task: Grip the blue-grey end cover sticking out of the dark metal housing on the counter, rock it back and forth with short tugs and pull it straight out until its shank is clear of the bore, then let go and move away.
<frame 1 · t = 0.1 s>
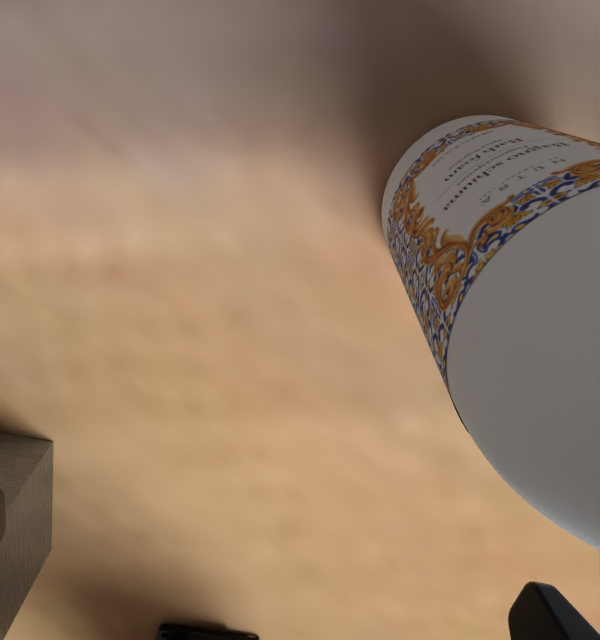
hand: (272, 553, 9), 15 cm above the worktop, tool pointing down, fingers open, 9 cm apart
bath foam: (465, 204, 21), on the worktop
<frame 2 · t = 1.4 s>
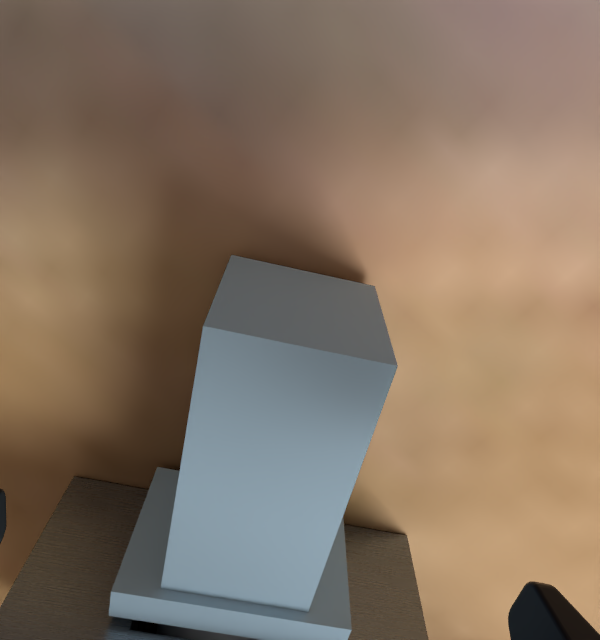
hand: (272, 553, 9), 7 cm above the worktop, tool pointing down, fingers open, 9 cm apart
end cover: (242, 542, 16), point 3 cm above the worktop, slide at 0.0 cm
housing: (226, 580, 20), on the worktop
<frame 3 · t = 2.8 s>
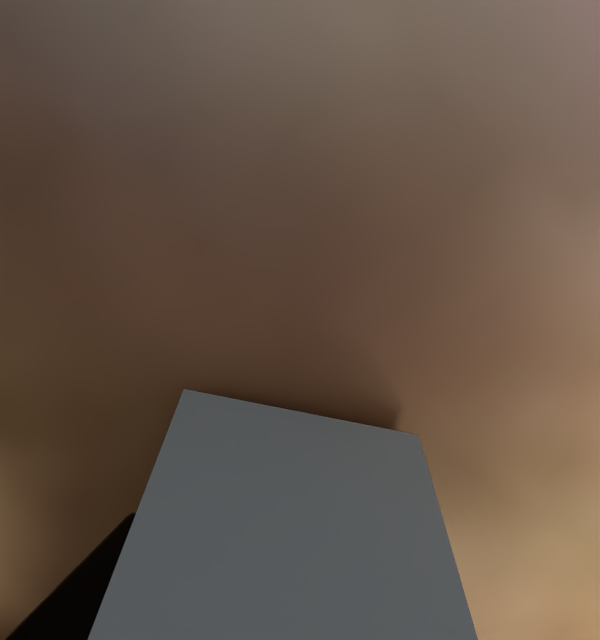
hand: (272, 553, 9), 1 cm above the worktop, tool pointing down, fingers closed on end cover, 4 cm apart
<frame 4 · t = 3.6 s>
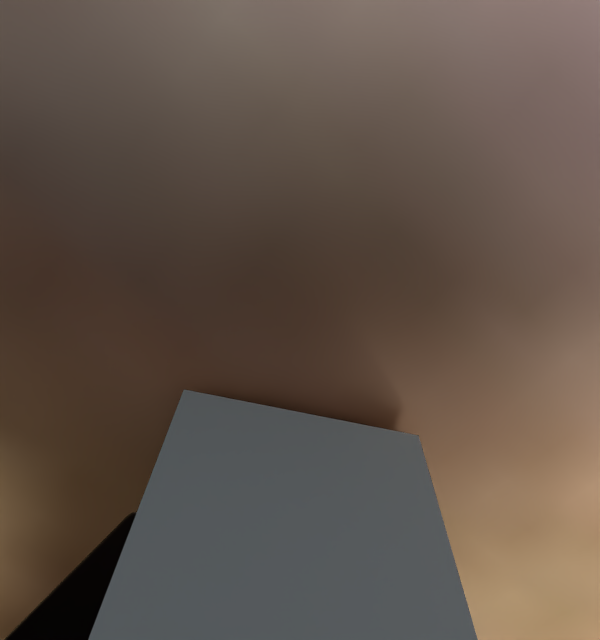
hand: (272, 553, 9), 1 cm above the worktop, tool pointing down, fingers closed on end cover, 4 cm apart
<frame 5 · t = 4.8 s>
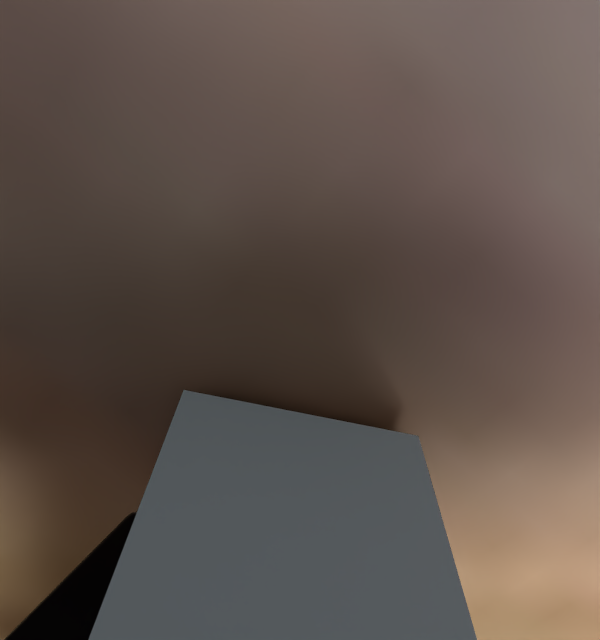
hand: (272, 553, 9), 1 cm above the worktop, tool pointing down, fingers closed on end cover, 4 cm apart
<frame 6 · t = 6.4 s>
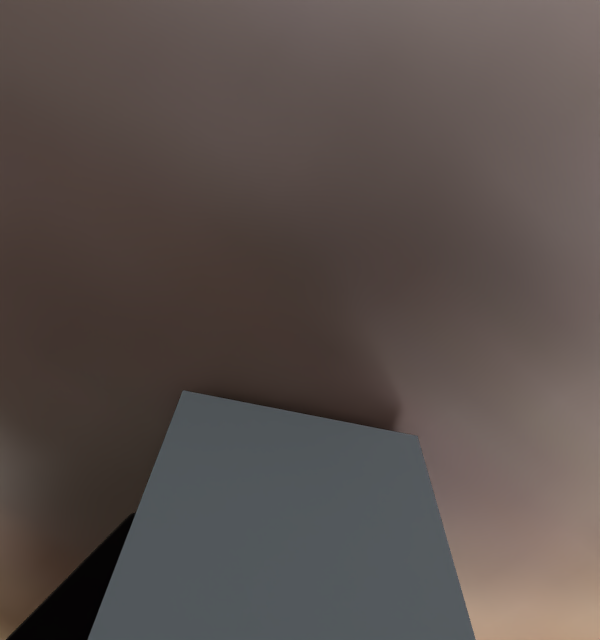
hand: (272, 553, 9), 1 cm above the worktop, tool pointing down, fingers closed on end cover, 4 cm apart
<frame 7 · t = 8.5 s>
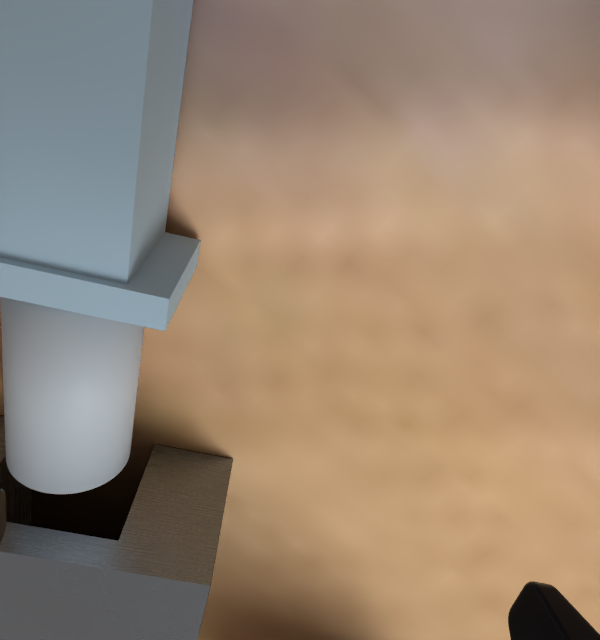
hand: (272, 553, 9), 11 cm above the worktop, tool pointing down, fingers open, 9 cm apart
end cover: (79, 246, 16), point 3 cm above the worktop, slide at 8.4 cm
housing: (89, 498, 24), on the worktop
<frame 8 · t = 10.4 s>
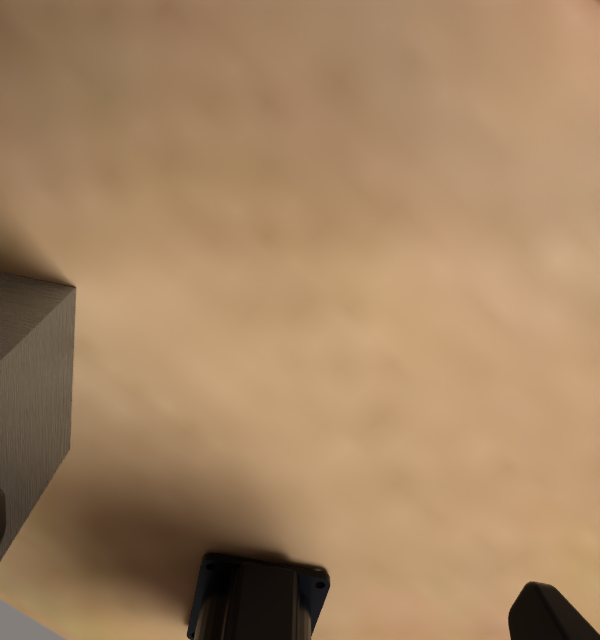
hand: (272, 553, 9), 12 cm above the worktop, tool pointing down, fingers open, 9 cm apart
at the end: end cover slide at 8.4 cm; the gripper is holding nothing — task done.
